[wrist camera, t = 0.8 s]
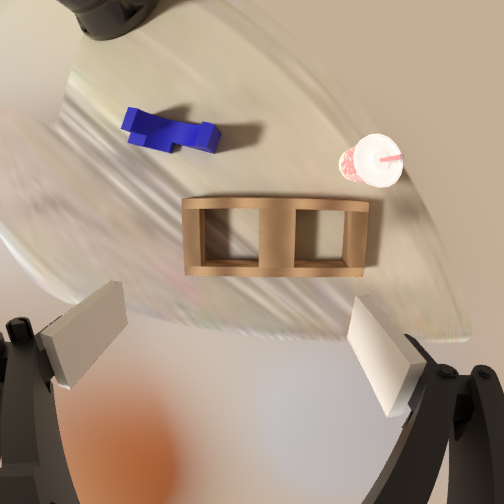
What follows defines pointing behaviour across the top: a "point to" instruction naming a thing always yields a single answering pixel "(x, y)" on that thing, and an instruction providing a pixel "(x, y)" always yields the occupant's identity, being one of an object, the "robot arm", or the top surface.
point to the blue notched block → (168, 132)
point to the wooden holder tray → (275, 238)
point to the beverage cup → (373, 161)
